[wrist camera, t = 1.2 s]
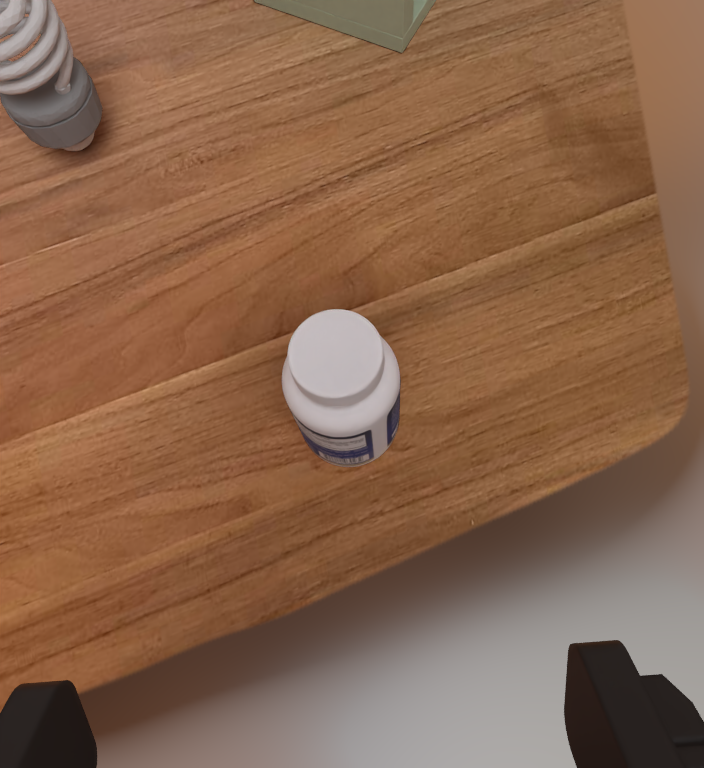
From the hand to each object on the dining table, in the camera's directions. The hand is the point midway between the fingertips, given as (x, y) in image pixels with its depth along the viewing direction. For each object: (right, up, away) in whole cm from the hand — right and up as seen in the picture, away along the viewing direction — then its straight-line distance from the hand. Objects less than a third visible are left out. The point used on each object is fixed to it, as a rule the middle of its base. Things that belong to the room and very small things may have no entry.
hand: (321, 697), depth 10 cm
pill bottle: (0, +3, +25) cm, 25 cm away
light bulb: (-18, +21, +33) cm, 43 cm away
